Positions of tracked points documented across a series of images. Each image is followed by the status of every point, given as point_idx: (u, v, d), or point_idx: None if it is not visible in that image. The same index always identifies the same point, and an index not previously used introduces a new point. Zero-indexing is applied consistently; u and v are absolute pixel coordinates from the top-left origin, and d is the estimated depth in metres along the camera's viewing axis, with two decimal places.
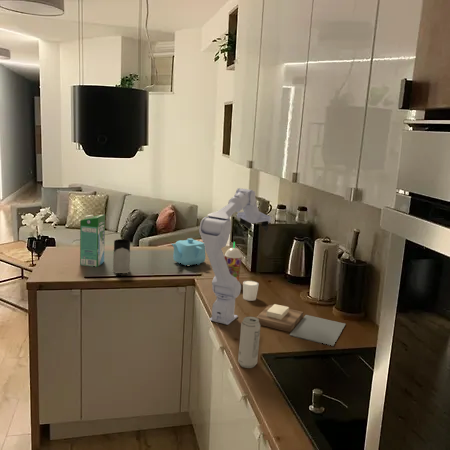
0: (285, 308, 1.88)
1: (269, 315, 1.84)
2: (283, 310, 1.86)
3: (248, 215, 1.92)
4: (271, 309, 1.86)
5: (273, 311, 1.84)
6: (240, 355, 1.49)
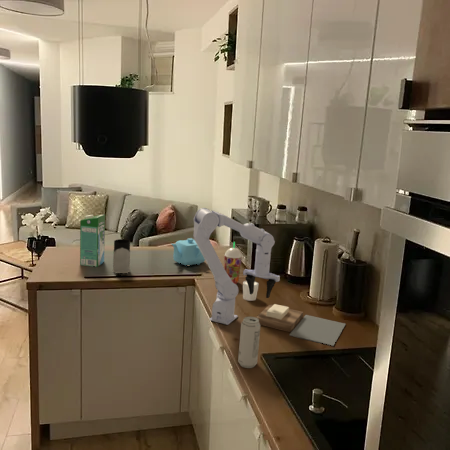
0: (285, 308, 1.88)
1: (269, 315, 1.84)
2: (283, 310, 1.86)
3: (259, 263, 1.84)
4: (271, 309, 1.86)
5: (273, 311, 1.84)
6: (240, 355, 1.49)
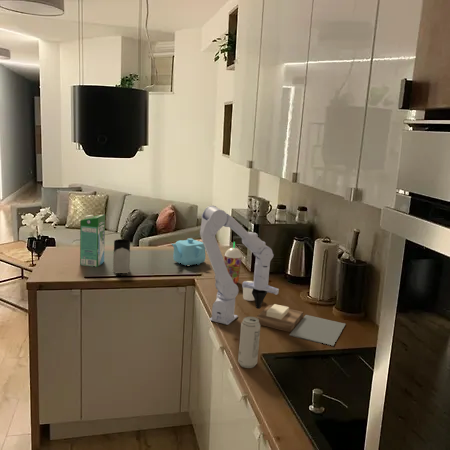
0: (285, 308, 1.88)
1: (269, 315, 1.84)
2: (283, 310, 1.86)
3: (258, 276, 1.85)
4: (271, 309, 1.86)
5: (273, 311, 1.84)
6: (240, 355, 1.49)
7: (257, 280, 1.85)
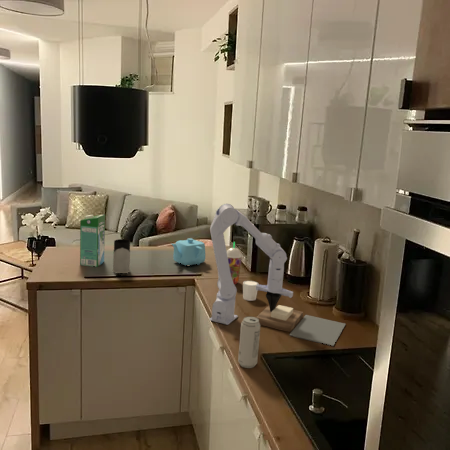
0: (289, 309, 1.87)
1: (273, 316, 1.83)
2: (287, 311, 1.85)
3: (272, 279, 1.83)
4: (275, 310, 1.85)
5: (277, 312, 1.83)
6: (240, 355, 1.49)
7: (271, 283, 1.83)
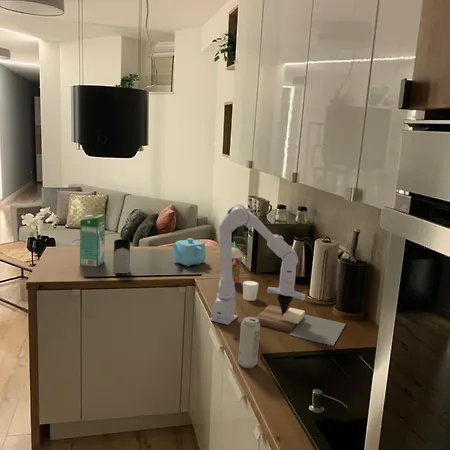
0: (301, 312, 1.85)
1: (285, 319, 1.81)
2: (299, 314, 1.83)
3: (284, 281, 1.81)
4: (287, 313, 1.83)
5: (289, 315, 1.81)
6: (240, 355, 1.49)
7: (283, 285, 1.81)
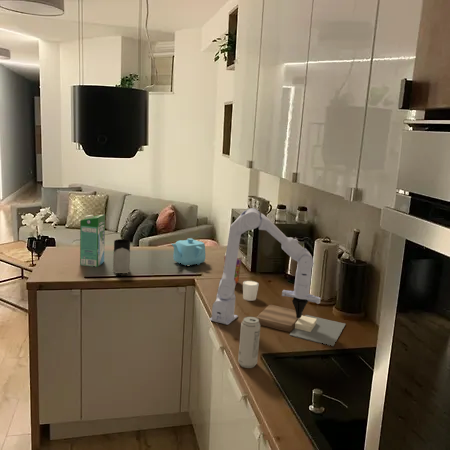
0: (313, 320, 1.84)
1: (298, 327, 1.80)
2: (312, 322, 1.82)
3: (300, 285, 1.78)
4: (299, 321, 1.82)
5: (302, 323, 1.80)
6: (240, 355, 1.49)
7: (298, 289, 1.79)
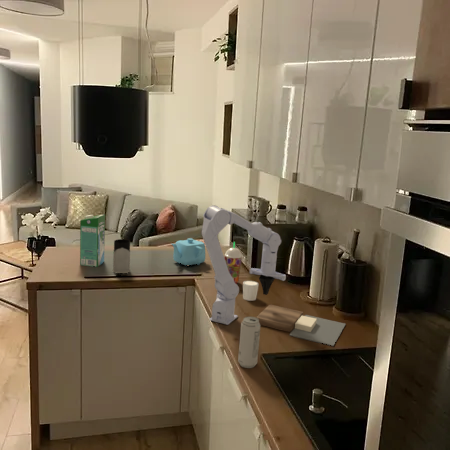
0: (313, 320, 1.84)
1: (298, 327, 1.80)
2: (312, 322, 1.82)
3: (266, 262, 1.86)
4: (299, 321, 1.82)
5: (302, 323, 1.80)
6: (240, 355, 1.49)
7: (264, 266, 1.87)
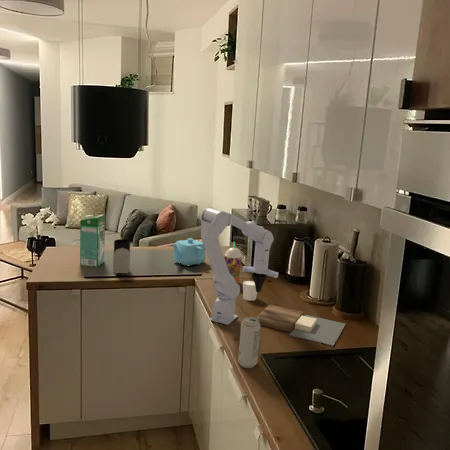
0: (313, 320, 1.84)
1: (298, 327, 1.80)
2: (312, 322, 1.82)
3: (258, 260, 1.88)
4: (299, 321, 1.82)
5: (302, 323, 1.80)
6: (240, 355, 1.49)
7: (257, 264, 1.89)
